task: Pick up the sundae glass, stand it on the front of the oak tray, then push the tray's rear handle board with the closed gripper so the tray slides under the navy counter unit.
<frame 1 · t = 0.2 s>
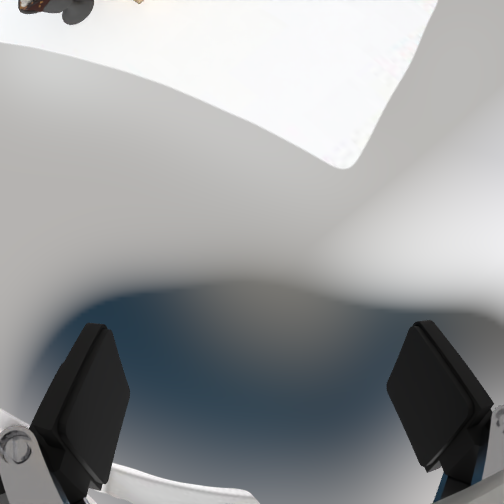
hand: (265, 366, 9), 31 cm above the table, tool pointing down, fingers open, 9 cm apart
sundae: (78, 9, 26), on the table
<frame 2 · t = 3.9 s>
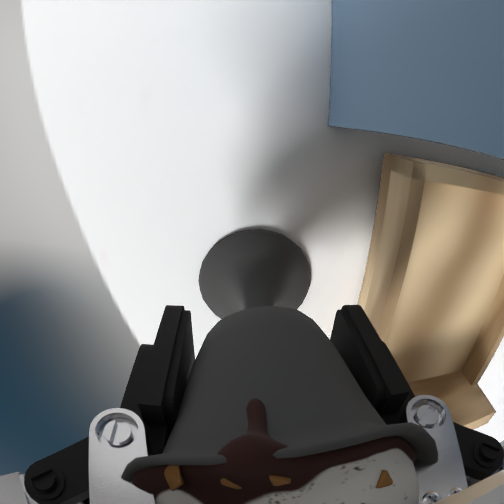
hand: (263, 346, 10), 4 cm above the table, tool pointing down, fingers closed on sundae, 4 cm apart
counter: (471, 64, 10), on the table
sundae: (254, 278, 14), on the table, touching gripper
tray: (462, 323, 12), point 3 cm above the table, slide at 0.0 cm
when the fingers open (7 cm above the table, at t = 7.9 s): sundae drops 1 cm, resting on tray.
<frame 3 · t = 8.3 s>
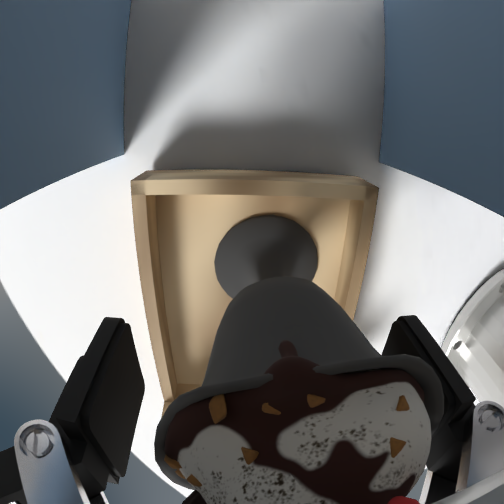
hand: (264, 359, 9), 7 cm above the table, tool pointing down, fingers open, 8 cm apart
counter: (258, 56, 12), on the table
sundae: (266, 261, 15), point 1 cm above the table, touching tray
tray: (252, 332, 14), point 3 cm above the table, slide at 0.0 cm, touching sundae
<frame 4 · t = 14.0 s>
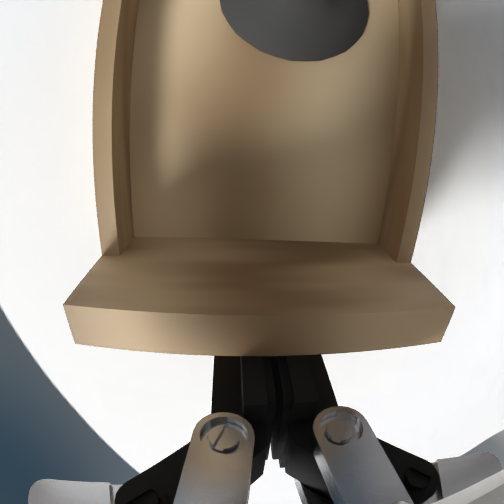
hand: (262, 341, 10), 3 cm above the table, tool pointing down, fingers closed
tray: (279, 54, 7), point 3 cm above the table, slide at 1.0 cm, touching gripper, sundae
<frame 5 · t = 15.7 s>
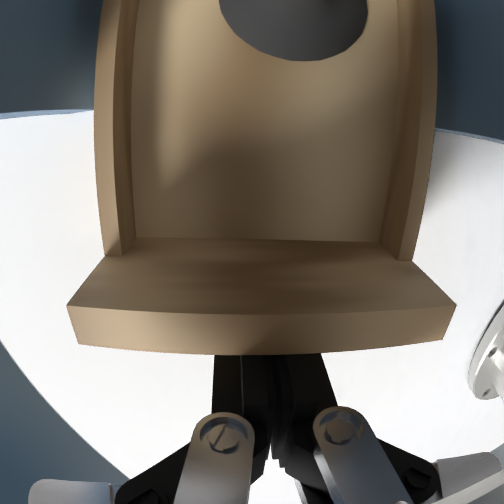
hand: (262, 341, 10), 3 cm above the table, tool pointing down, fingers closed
tray: (279, 54, 7), point 3 cm above the table, slide at 9.0 cm, touching gripper, sundae
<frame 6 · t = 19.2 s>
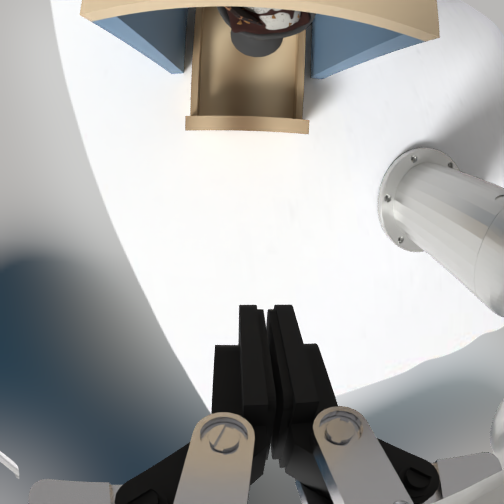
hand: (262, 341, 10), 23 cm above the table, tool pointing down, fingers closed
counter: (249, 31, 24), on the table
sundae: (256, 34, 24), point 1 cm above the table, touching tray
tray: (249, 55, 23), point 3 cm above the table, slide at 9.0 cm, touching sundae
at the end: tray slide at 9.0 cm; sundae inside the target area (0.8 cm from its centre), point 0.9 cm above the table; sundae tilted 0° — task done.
